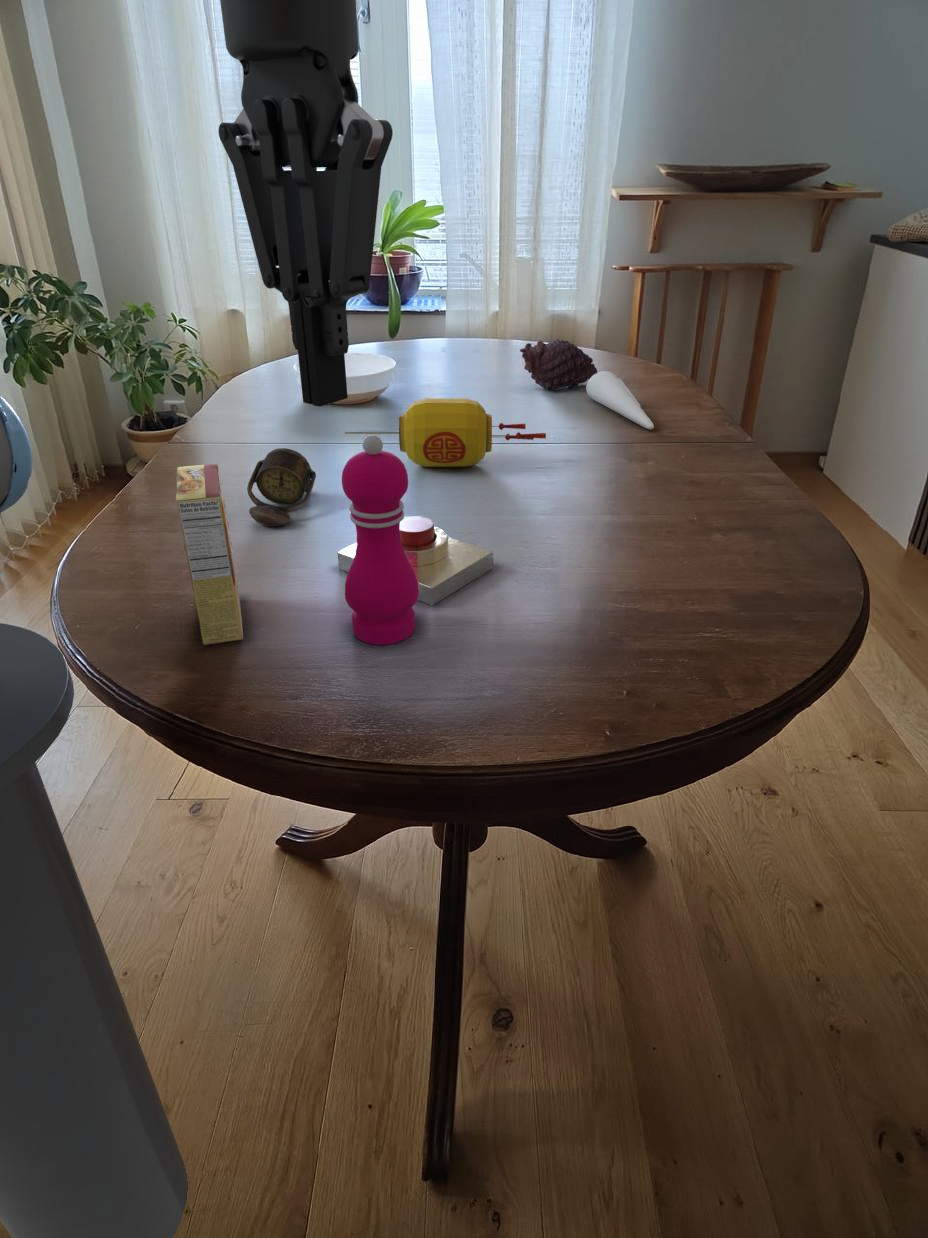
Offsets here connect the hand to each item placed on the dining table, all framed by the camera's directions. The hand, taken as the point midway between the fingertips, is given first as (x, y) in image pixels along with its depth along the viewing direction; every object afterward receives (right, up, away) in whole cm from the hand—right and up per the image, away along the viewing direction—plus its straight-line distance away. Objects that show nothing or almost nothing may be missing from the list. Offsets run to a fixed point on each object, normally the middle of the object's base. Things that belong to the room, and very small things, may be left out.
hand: (325, 399), depth 56 cm
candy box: (-15, -16, +25) cm, 33 cm away
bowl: (-13, +28, +97) cm, 102 cm away
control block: (+4, -10, +35) cm, 37 cm away
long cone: (+38, +21, +86) cm, 97 cm away
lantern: (+7, +8, +65) cm, 66 cm away
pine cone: (+29, +31, +103) cm, 112 cm away
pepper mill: (+2, -17, +24) cm, 29 cm away
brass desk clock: (-15, -1, +50) cm, 52 cm away
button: (+4, -7, +33) cm, 34 cm away
